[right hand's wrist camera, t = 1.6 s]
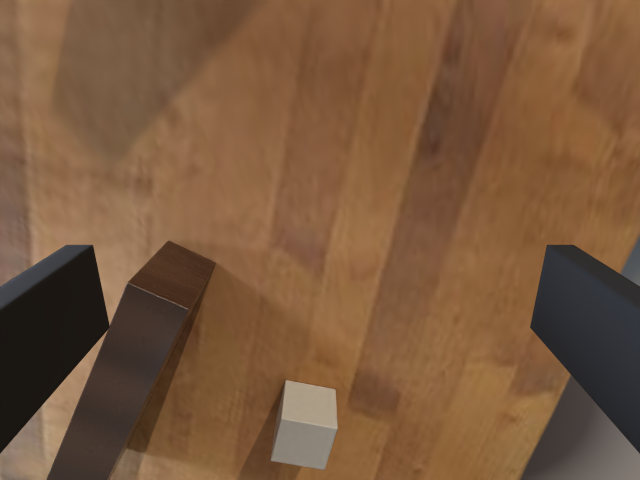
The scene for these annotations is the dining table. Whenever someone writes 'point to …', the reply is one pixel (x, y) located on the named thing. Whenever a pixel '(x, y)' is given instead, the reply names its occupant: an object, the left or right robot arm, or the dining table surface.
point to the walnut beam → (131, 362)
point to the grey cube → (305, 425)
